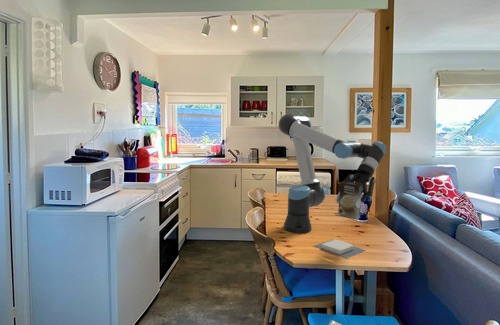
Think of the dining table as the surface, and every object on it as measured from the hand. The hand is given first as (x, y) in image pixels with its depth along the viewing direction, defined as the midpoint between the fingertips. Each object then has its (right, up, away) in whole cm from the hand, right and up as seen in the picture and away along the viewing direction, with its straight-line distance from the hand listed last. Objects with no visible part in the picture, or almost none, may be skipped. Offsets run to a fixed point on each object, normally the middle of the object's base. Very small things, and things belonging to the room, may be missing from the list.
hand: (346, 204), depth 154 cm
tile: (0, -19, +4) cm, 20 cm away
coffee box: (+2, -6, +3) cm, 7 cm away
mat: (-3, -21, +1) cm, 21 cm away
